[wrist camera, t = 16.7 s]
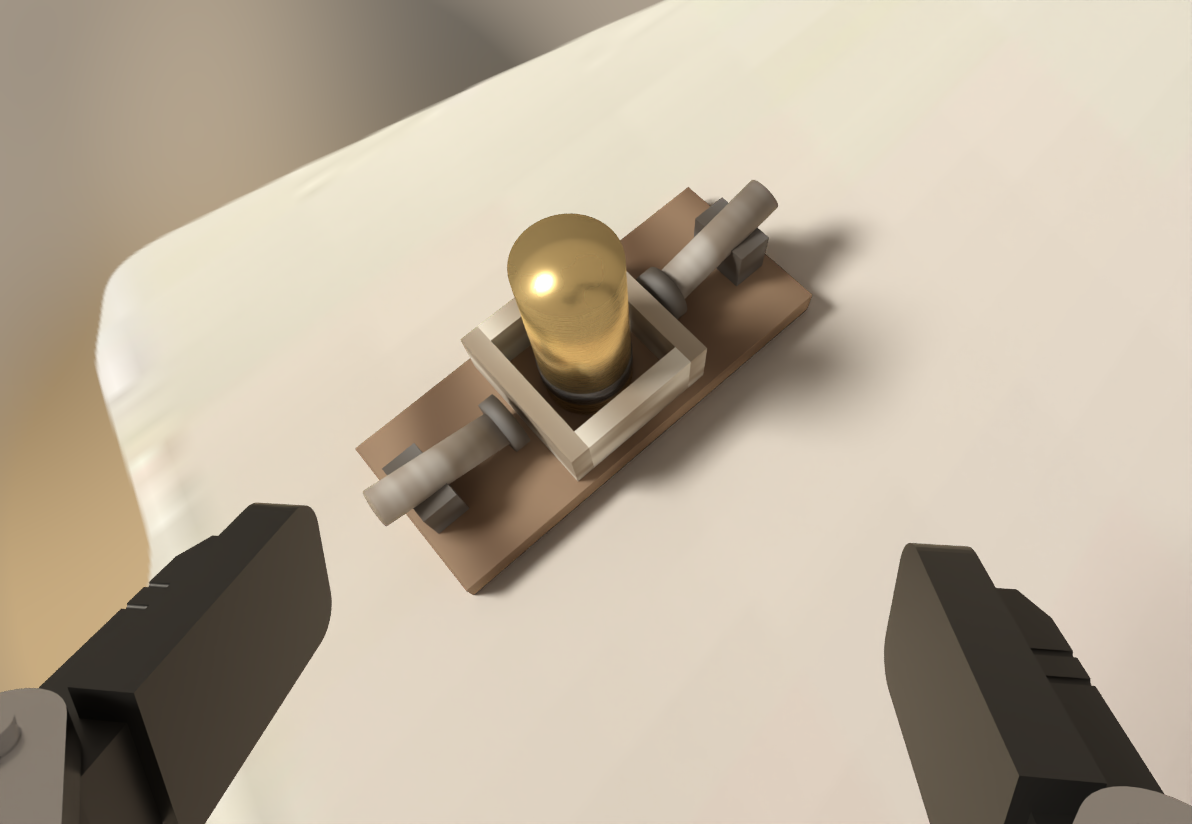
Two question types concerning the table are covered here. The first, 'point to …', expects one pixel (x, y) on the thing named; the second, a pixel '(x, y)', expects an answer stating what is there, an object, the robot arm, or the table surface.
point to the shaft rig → (568, 440)
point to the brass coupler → (574, 308)
